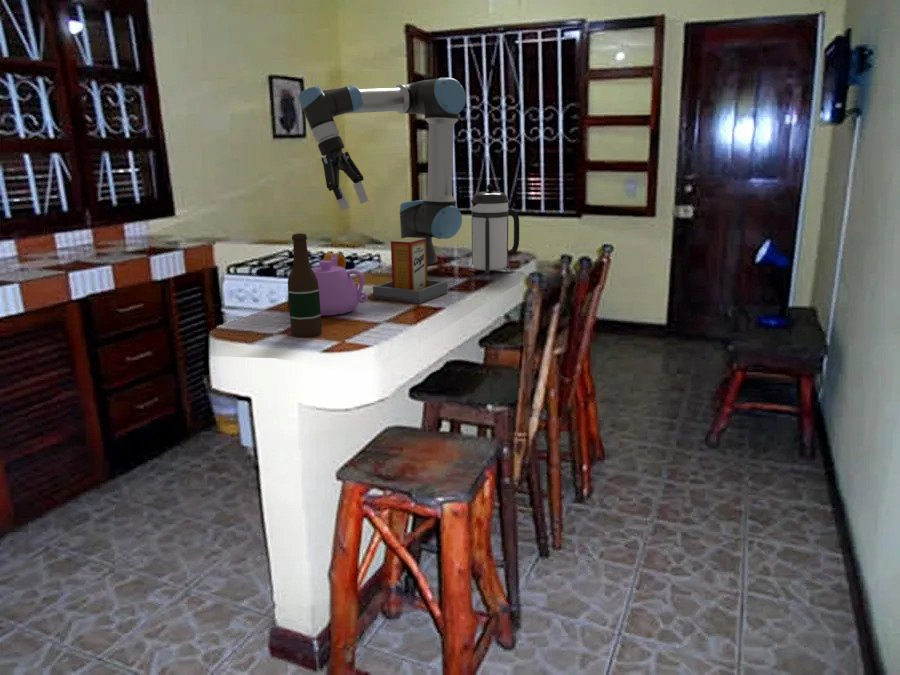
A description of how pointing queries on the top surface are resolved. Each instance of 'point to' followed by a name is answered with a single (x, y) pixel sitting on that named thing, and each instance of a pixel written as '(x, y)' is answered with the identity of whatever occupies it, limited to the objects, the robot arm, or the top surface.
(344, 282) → the teapot
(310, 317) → the beer bottle
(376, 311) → the top surface
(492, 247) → the coffee press
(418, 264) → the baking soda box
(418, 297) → the tray
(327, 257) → the bracket
